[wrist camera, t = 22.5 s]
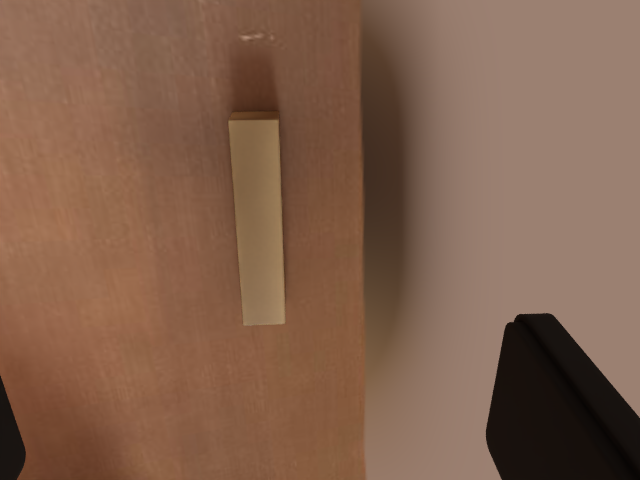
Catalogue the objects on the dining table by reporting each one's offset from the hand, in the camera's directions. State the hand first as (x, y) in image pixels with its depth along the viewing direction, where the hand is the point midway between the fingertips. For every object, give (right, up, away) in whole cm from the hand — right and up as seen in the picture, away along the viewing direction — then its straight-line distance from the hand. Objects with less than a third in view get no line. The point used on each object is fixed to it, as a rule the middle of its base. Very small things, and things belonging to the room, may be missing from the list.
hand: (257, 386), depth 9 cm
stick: (-2, +4, +20) cm, 21 cm away
